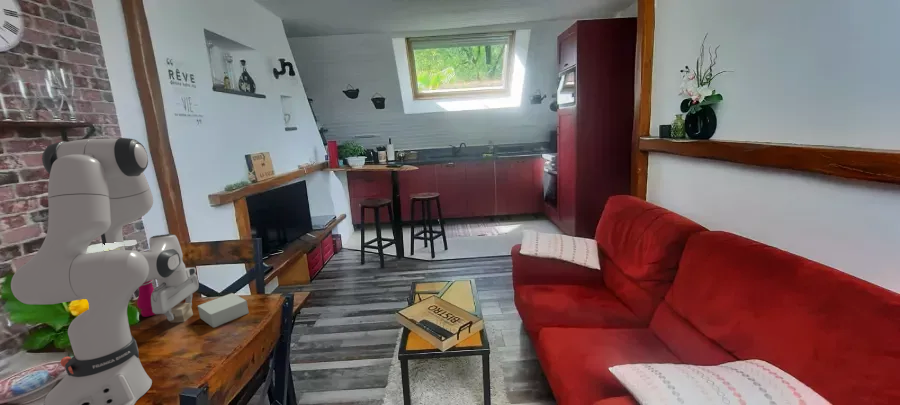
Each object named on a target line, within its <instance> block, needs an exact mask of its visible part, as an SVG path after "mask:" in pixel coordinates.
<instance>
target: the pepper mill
mask: <svg viewBox="0 0 900 405" xmlns="http://www.w3.org/2000/svg"><path fill="white" fill-rule="evenodd" d="M153 282H154V280H150V281H145V282H144V283H143V284H142V285H141V286H140V287H139V288H138V298H137V299H136V301H137V303H136V305H137V308H139V309H140V314H141V316H142V317H146V318H147V317H152V316H155V315H156V314H154V313H153V311H152V306H151V295H152V292H153V290H154V288H155V287H154V286H153Z"/></svg>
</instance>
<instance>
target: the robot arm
mask: <svg viewBox="0 0 900 405" xmlns="http://www.w3.org/2000/svg"><path fill="white" fill-rule="evenodd" d="M41 162H42V165H43V167H44V170H45V171H46V173H48V174H49V178H48V185H47V186H48V187H47V189H48V190H47V203H48V220H47V221H48V222H47V232H46V235H45V239H44V240H43V242H42V244H41V246H40V247H39V249H38V251H36V253H35V254H34V255H33V257H31V259H29V260H28V261H27V262H26V263H24V264H23V265H22V266H20V267H19V268H18V269H17V270H16V271H15V273H14V274H13V276H12V277H11V281H10V289H11V292H12V295H13V296H14V298H15V299H17V300H18V301H19V302H20V303H23V304H25V305H55V304H56V305H57V304H60V303H61V304H62V303H67V302H74V301H80V300H87V302H88V309H87V310H85V311H83V312H82V313H80V314H78V316H75V318H74V319H72V321H71V322H70V323H69V326H68V329H67V335H68V339H69V342H70V346H71V349H72V351H73V352H72V353H73V356H72V357H71V356H64V357H63V358H61V360H60V361H59V362H60V364H61V366H62V367H63V368H65V370H66V373H67V374H66V375H65V376H64V377H63V378H62V379H61V380H60V381H59V382H58V383H57V384H56V385H55V386H54V387H53V388H52V389H51V390H50V391H48V393H47V395H46V396H45V399H44V400H43V405H135V404H136V403H137V401H138V400H139V399H140V398H142V397H143V396H144V395H145V394H146V393H147V392H148V391H149V389H150V388H151V387H152V383H153V380H152V378H150V376H149V375H148V374H147V372H146V370H145V368H144V367H143V365H142V363H141V360H140V358H139V357H140V355H139V348H138V344H137V340H136V339H135V338H134V336H133V335H132V333H131V328H130V324H129V323H130V322H129V317H128V305H129V302H130V300H131V299H132V296H134V295H133V294H134V293H135V292H136V291H137V290H139V287H140V286H141V285H142V284H143V283H144V282H145V281H150V280H153V281H154V280H155V281H156V283H157V286H156V287H153V288H154V290H153V292H152V295H151V306H152V311H153V313H154V314H155V315H164V316H166V318H167V321H168V322H170V321H171V320H173V319H175V314H172V313H171V311H172V310H171V308H173V307H174V306H176V305H177V304H178V303H182V302H183V301H184V300H185V302H184V303H191V307H193V303H192V301H193V294H194V293H195V292H196V291H198V290H199V286H200V285H199V284H200V283H199V280H198V275H197V274H196V272H197V268H196V267H186V264H185V263H184V261H183V258H184V257H183V255H184V254H183V250H182V247H181V243H180V241H179V238H178V237H177V235H176V234H173V233H166V234H165V233H164V234H158V235H157V234H156V235H152V236H151V237H149V240H148V241H149V249H148V250H147V251H138V250H134V249H133V250H132V249H131V250H130V249H126V247H125V245H124V246H123V247H122V248H121V249H120V250H109V251H104V250H103V251H93V252H87V250H88V248H89V246H90V244H91V243H92V242H93V241H95V240H96V239H97V238H98V237H101V243H102V245H103V244H104V245H105V243H114V242H124V235H123V229H124V228H123V227H124V226H127V225H129V224H130V223H133V222H135V221H137V220H139V219H141V218H143V217H144V216H145V215H146V214H148V212H150V210H151V209H152V208H153V204H154V198H153V193H152V190H151V187H150V185H149V182H148V180H147V178H146V176H145V174H144V172H145V170H146V169H147V168H148V165H149V156H148V152H147V150H146V148H145V146H144V145H143V143H141V142H140V141H138V140H137V139H135V138H130V137H129V138H127V137H119V138H84V139H77V140H70V141H59V142H56V143H55V142H54V143H51V144H50V145H48V146H47V147H46V148H45V149H44V151H43V153H42V156H41ZM124 243H125V242H124Z"/></svg>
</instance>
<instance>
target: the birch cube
mask: <svg viewBox="0 0 900 405" xmlns="http://www.w3.org/2000/svg"><path fill="white" fill-rule="evenodd" d="M192 308H193V307H192V306H191V303H185V302H180V303H178V304H177V305H176V306H174V307H173V308H171V310H172V311H171V313H172V314H175V319H173V320H171V321H169V322H170V323H184V322H186V321H187V320H188V319H190V318H191V317H192V316H193V315H194V313H193V309H192Z"/></svg>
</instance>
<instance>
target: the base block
mask: <svg viewBox="0 0 900 405" xmlns="http://www.w3.org/2000/svg"><path fill="white" fill-rule="evenodd" d="M248 307H249V306H248V302H247V300H246V299H244V298H243V297H241V296H239V295H237V294H235V293H234V292H231V293H228V294H225V295H222V296H220V297H218V298H215V299H211V300H209V301H206V302H203V303H201V304H199V305H197V310H198V314H199V318H200V319H201V320H202V321H204V323H206V324H208V325H209V326H210V327H212V328H213V329H214V328H216V327H217V328H218V327H219V326H222V325H223V324H226V323H228V322H231V321H233V320H236V319H238V318H240V317H242V316H245V315H248V314H249V313H250V312H249V308H248Z"/></svg>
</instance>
